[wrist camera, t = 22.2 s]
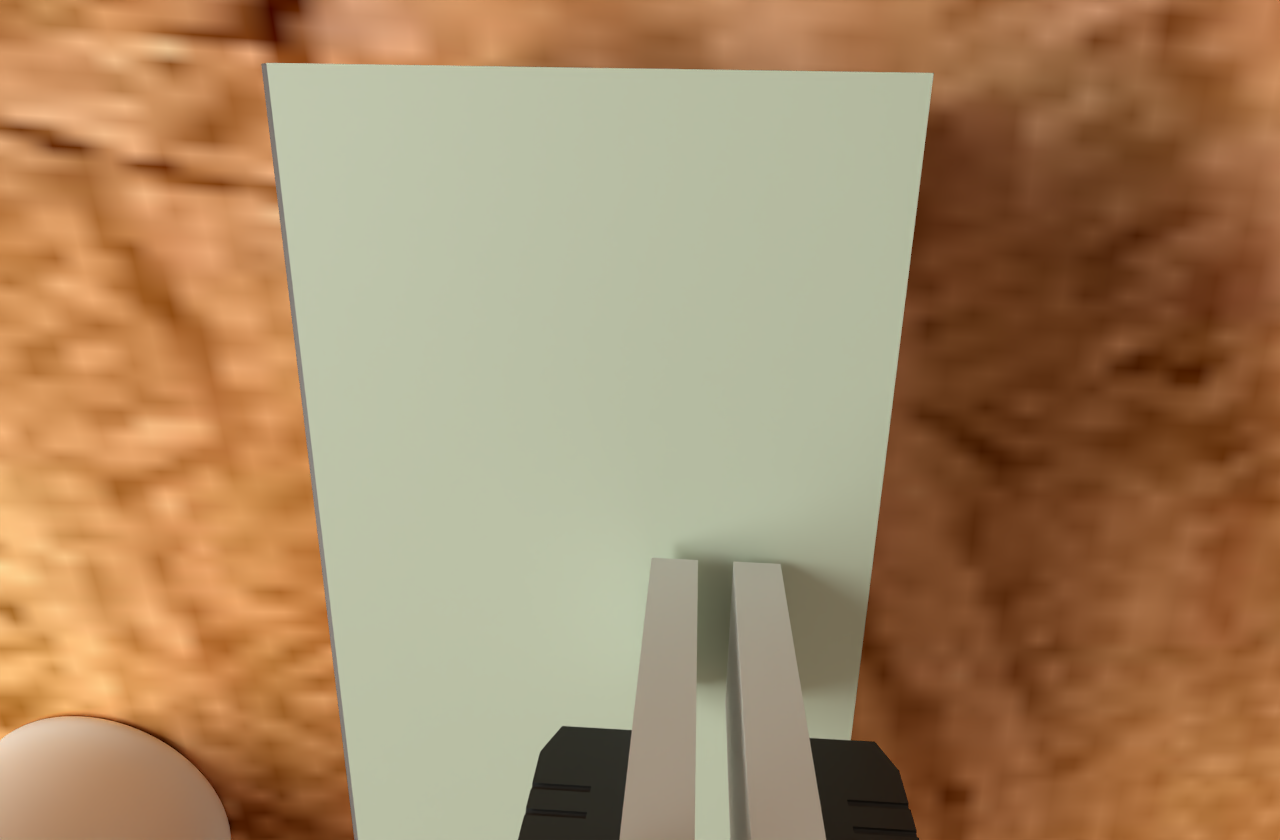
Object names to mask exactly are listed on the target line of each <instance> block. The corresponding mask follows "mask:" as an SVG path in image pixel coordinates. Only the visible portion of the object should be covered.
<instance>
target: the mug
mask: <svg viewBox="0 0 1280 840" xmlns="http://www.w3.org/2000/svg"><path fill="white" fill-rule="evenodd" d="M0 840H231V832H230V826H229V822H228V818H227V815H226V812H225V810H224V807H223V805H222V803H221V801H220V799H219V797H218V795H217V794H216V792H215V790H214V789H213V787H212V786H211V784H210V783H209V782H208V780H207V779H206V778H205V777H204V776H203V774H202V773H201V772H200V771H199V770H198V769H197V768H196V767H195V766H194V765H193V764H192V763H191V762H190V761H189V760H187V759H186V758H185V757H184V756H183V755H181V754H180V753H179V752H177V751H176V750H175V749H173V748H172V747H170V746H169V745H167V744H166V743H164V742H162V741H161V740H159V739H157V738H155V737H153V736H151V735H149V734H147V733H145V732H143V731H141V730H138V729H136V728H133V727H131V726H128V725H125V724H122V723H118V722H114V721H110V720H106V719H101V718H94V717H84V716H62V717H53V718H47V719H42V720H38V721H35V722H32V723H29V724H26V725H24V726H22V727H20V728H18V729H16V730H14V731H12V732H11V733H9V734H7V735H6V736H5V737H3V738H2V739H1V740H0Z"/></svg>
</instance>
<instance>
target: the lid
mask: <svg viewBox="0 0 1280 840" xmlns="http://www.w3.org/2000/svg"><path fill="white" fill-rule="evenodd" d="M261 65H262V73H263V82H264V90H265V98H266V107H267V115H268V123H269V132H270V140H271V148H272V157H273V165H274V173H275V182H276V190H277V198H278V207H279V215H280V223H281V232H282V240H283V248H284V257H285V265H286V273H287V282H288V290H289V298H290V307H291V315H292V323H293V332H294V340H295V348H296V357H297V365H298V373H299V382H300V390H301V398H302V407H303V415H304V423H305V432H306V440H307V448H308V457H309V465H310V473H311V482H312V490H313V498H314V507H315V515H316V523H317V532H318V540H319V548H320V557H321V565H322V573H323V582H324V590H325V598H326V607H327V615H328V623H329V632H330V640H331V648H332V657H333V665H334V673H335V682H336V690H337V698H338V707H339V715H340V723H341V732H342V740H343V748H344V757H345V765H346V773H347V782H348V790H349V798H350V807H351V815H352V823H353V832H354V840H518V837H519V833H520V829H521V825H522V821H523V817H524V815H525V813H526V806H527V802H528V798H529V794H530V790H531V789H532V782H533V778H534V774H535V770H536V766H537V762H538V758H539V754H540V751H541V750H542V749H543V748H544V746H545V745H546V744H547V743H548V742H549V741H550V739H551V738H552V737H553V736H554V735H555V734H556V733H557V731H558V730H559V729H560V728H561V727H562V726H571V727H588V728H605V729H622V730H632V725H633V716H634V707H635V698H636V690H637V681H638V672H639V663H640V655H641V646H642V637H643V628H644V620H645V611H646V602H647V593H648V585H649V576H650V567H651V558H668V559H688V560H698V600H697V686H696V771H695V840H730V824H729V796H728V767H727V739H726V710H725V696H726V679H727V663H728V646H729V629H730V612H731V596H732V579H733V562H752V563H773V564H781V570H782V576H783V582H784V588H785V594H786V600H787V606H788V612H789V618H790V624H791V631H792V637H793V643H794V649H795V655H796V661H797V667H798V673H799V679H800V685H801V691H802V697H803V703H804V709H805V715H806V721H807V727H808V733H809V738H819V739H836V740H851V734H852V726H853V718H854V710H855V702H856V694H857V686H858V678H859V670H860V662H861V654H862V646H863V638H864V629H865V621H866V613H867V605H868V597H869V589H870V581H871V573H872V565H873V557H874V549H875V541H876V533H877V525H878V517H879V509H880V501H881V493H882V485H883V477H884V469H885V461H886V452H887V444H888V436H889V428H890V420H891V412H892V404H893V396H894V388H895V380H896V372H897V364H898V356H899V348H900V340H901V332H902V324H903V316H904V308H905V300H906V292H907V284H908V275H909V267H910V259H911V251H912V243H913V235H914V227H915V219H916V211H917V203H918V195H919V187H920V179H921V171H922V163H923V155H924V147H925V139H926V131H927V123H928V115H929V107H930V98H931V90H932V82H933V74H934V73H900V72H833V71H767V70H701V69H634V68H568V67H502V66H435V65H369V64H303V63H266V64H261Z"/></svg>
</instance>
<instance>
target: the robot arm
mask: <svg viewBox="0 0 1280 840" xmlns="http://www.w3.org/2000/svg"><path fill="white" fill-rule="evenodd" d="M697 600H698V560H688V559H668V558H651V567H650V576H649V585H648V593H647V602H646V611H645V620H644V628H643V637H642V646H641V655H640V663H639V672H638V681H637V690H636V698H635V707H634V716H633V725H632V730H622V729H605V728H588V727H571V726H562V727H561V728H560V729H559V730H558V731H557V733H556V734H555V735H554V736H553V737H552V738H551V739H550V741H549V742H548V743H547V744H546V745H545V746H544V748H543V749H542V750H541V751H540V754H539V758H538V762H537V766H536V770H535V774H534V778H533V782H532V789H531V790H530V794H529V798H528V802H527V806H526V813H525V815H524V817H523V821H522V825H521V829H520V833H519V837H518V840H695V771H696V686H697ZM725 710H726V739H727V767H728V796H729V824H730V840H919V838H918V837H917V836H916V828H915V824H914V821H913V817H912V814H911V810H909V808H908V800H907V797H906V793H905V790H904V787H903V783H902V780H901V776H900V773H899V770H898V769H897V768H896V767H895V766H894V764H893V763H892V762H891V761H890V760H889V758H888V757H887V756H886V755H885V754H884V752H883V751H882V750H881V749H880V748H879V746H878V745H877V744H876V743H875V742H869V741H853V740H836V739H819V738H809V733H808V727H807V721H806V715H805V709H804V703H803V697H802V691H801V685H800V679H799V673H798V667H797V661H796V655H795V649H794V643H793V637H792V631H791V624H790V618H789V612H788V606H787V600H786V594H785V588H784V582H783V576H782V570H781V564H773V563H752V562H733V579H732V596H731V612H730V629H729V646H728V663H727V679H726V696H725Z"/></svg>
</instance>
